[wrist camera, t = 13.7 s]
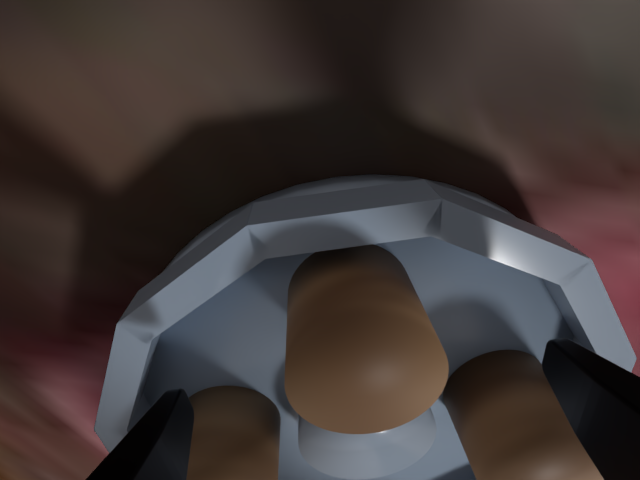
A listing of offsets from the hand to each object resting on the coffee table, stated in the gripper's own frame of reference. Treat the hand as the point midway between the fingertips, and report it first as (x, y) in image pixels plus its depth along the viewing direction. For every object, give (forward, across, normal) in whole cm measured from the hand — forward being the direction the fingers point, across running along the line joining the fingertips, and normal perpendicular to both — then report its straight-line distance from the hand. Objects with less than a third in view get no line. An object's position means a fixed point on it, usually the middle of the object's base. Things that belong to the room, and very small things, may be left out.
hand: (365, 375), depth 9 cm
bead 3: (+3, -5, +5) cm, 8 cm away
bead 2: (+3, 0, 0) cm, 3 cm away
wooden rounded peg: (+3, +5, +5) cm, 8 cm away
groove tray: (+4, 0, +5) cm, 7 cm away
